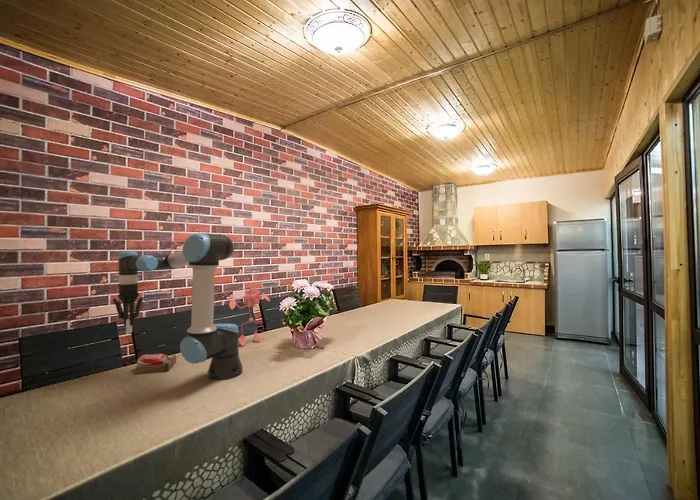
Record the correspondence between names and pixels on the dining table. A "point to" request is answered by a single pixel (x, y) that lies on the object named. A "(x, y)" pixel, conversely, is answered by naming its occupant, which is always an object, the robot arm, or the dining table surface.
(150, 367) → the u rest
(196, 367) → the dining table surface
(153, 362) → the soda can
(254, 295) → the pink flower figure
